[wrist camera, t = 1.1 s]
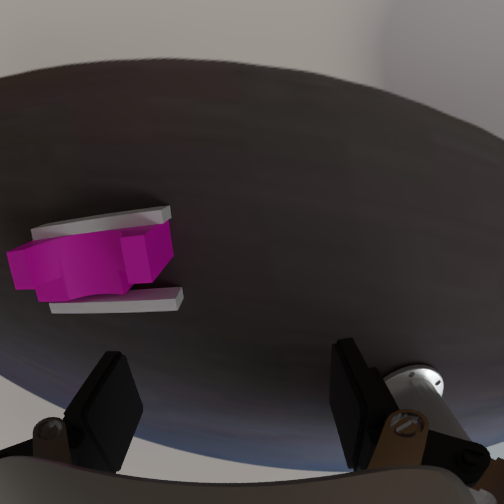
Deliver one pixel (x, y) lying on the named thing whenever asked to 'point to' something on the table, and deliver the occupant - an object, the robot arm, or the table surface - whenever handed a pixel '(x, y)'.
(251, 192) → the table surface
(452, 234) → the table surface
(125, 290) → the toy block
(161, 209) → the guide channel
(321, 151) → the table surface
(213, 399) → the table surface
